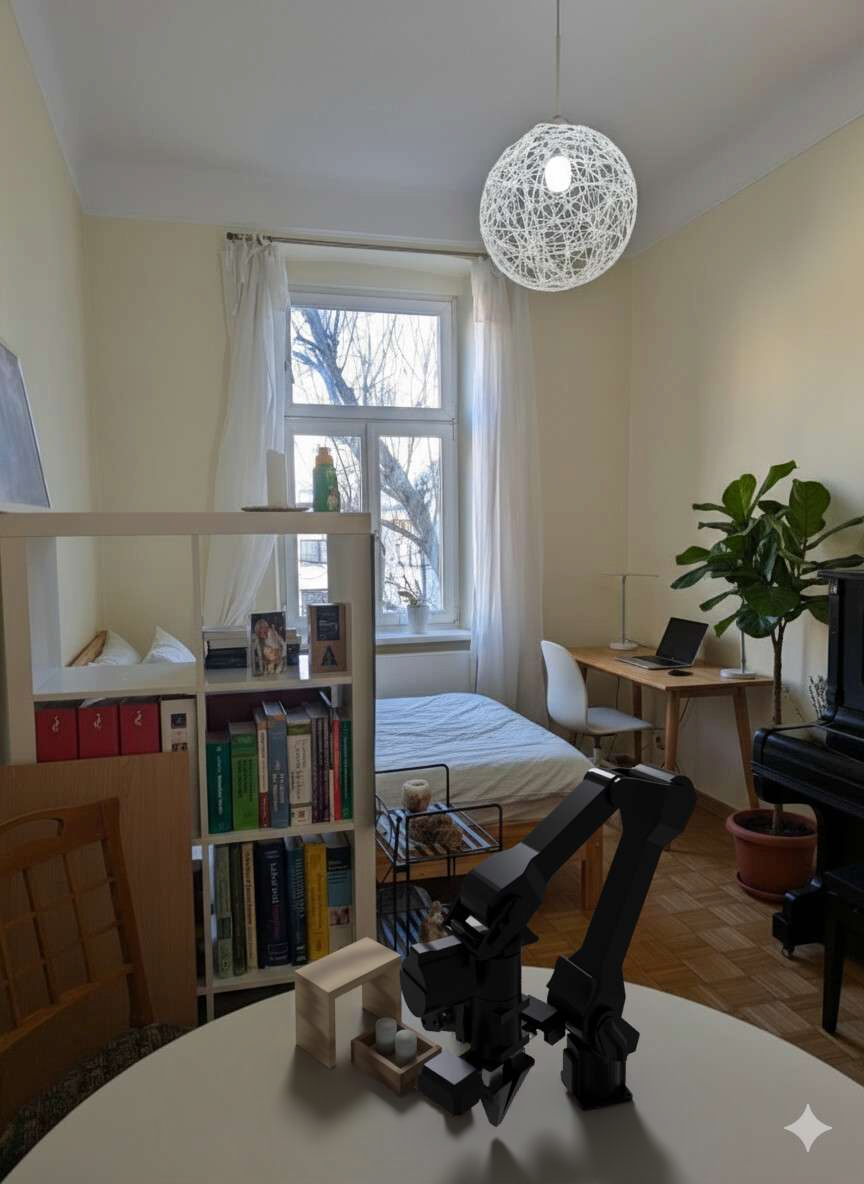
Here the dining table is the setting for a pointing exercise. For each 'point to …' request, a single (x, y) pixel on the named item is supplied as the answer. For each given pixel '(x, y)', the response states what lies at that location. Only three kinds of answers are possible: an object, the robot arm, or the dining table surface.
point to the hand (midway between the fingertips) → (495, 1123)
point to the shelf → (336, 978)
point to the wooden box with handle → (393, 1054)
